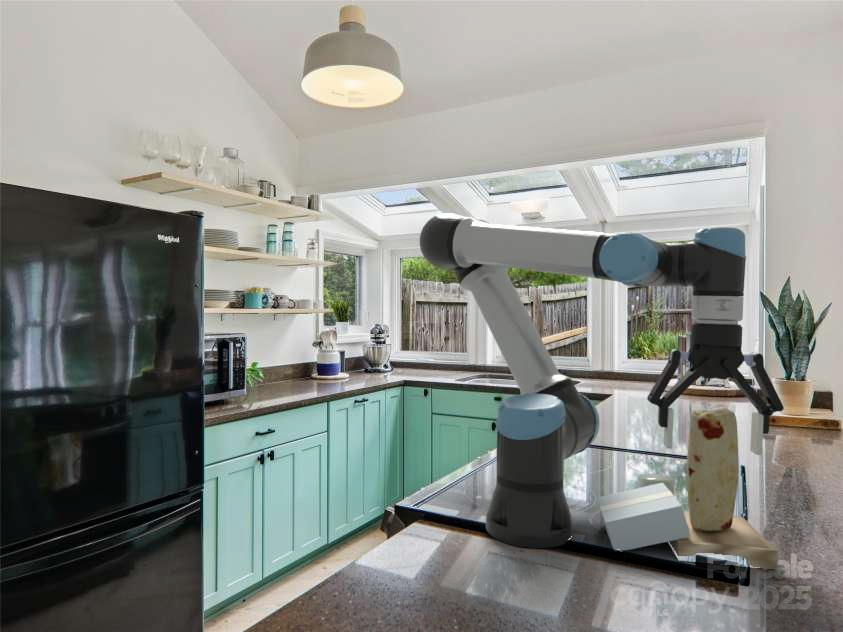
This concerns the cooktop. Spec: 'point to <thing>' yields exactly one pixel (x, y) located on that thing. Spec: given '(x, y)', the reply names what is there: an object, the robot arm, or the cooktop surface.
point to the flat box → (642, 517)
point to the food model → (712, 469)
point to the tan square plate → (729, 543)
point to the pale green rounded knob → (656, 481)
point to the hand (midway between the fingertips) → (711, 449)
